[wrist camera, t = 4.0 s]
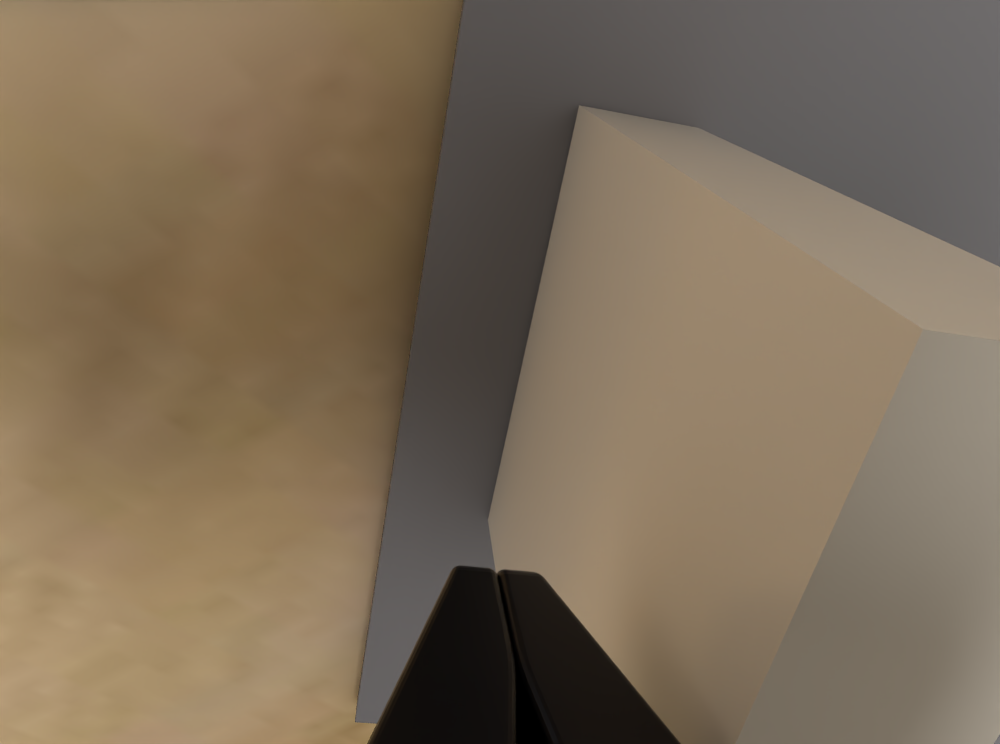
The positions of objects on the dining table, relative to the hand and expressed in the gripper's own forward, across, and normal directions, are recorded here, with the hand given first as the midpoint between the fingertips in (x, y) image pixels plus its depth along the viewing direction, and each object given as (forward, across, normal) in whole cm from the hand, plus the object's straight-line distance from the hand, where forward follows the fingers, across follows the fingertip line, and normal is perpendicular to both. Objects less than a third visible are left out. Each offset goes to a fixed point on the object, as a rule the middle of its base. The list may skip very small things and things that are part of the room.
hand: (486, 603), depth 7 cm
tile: (+7, -2, 0) cm, 7 cm away
